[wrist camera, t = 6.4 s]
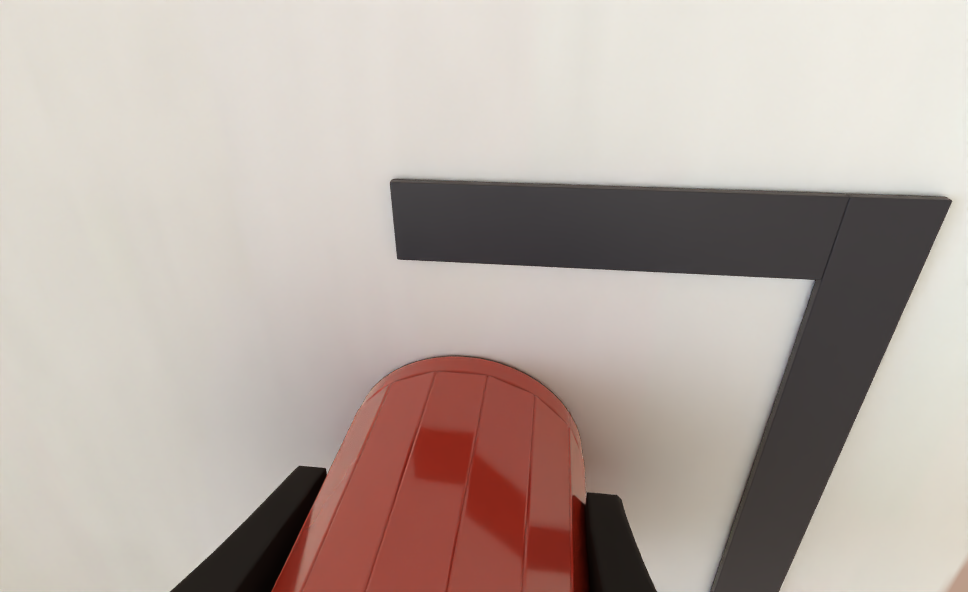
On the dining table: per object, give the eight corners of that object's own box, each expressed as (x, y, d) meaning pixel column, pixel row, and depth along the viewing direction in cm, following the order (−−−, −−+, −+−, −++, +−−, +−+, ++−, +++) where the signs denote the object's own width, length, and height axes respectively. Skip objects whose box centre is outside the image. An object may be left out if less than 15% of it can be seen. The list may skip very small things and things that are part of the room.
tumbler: (415, 535, 15) (321, 889, 9) (317, 386, 13) (106, 731, 7) (609, 503, 14) (646, 906, 8) (536, 328, 11) (509, 709, 5)
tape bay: (432, 601, 17) (430, 608, 17) (392, 178, 10) (389, 181, 10) (752, 640, 16) (754, 647, 16) (946, 195, 9) (953, 200, 9)
